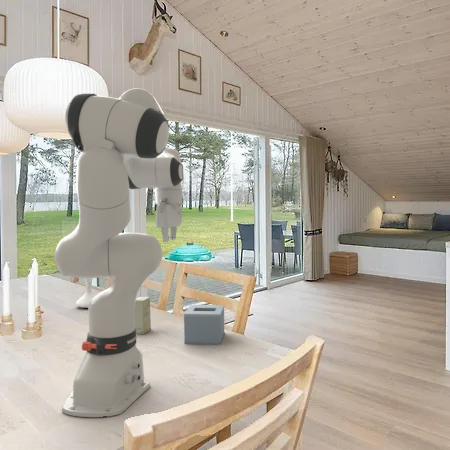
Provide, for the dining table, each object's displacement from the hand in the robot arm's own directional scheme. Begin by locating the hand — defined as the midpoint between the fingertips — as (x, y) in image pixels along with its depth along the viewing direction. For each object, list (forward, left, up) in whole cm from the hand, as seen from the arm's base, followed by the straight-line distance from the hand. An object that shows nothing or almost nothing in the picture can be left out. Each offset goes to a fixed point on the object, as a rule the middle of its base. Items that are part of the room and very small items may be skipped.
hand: (169, 240), depth 136 cm
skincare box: (+9, +13, -34) cm, 38 cm away
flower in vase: (+42, +48, -34) cm, 72 cm away
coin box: (+3, -11, -34) cm, 36 cm away
